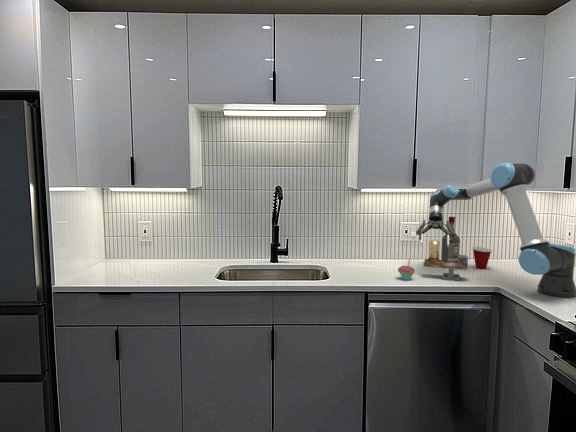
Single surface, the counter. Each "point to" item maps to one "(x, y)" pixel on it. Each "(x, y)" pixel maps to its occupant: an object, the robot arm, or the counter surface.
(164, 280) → the counter surface
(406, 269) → the cupcake
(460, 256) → the balance beam
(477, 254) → the plastic cup
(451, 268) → the pivot stand
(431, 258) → the cylinder
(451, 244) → the liquor
